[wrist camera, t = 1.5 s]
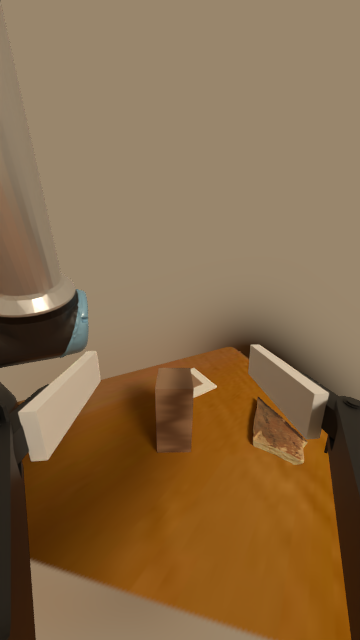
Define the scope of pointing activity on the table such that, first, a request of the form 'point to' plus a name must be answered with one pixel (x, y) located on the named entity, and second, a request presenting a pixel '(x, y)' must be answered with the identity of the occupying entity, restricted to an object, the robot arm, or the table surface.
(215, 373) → the table surface
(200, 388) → the swatch
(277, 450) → the shard
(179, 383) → the walnut block
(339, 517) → the robot arm
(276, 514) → the table surface
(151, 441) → the table surface
